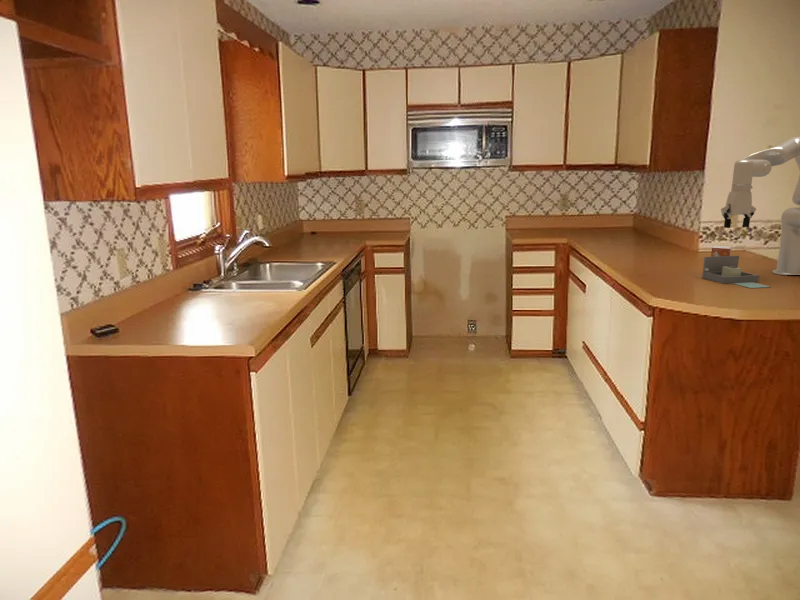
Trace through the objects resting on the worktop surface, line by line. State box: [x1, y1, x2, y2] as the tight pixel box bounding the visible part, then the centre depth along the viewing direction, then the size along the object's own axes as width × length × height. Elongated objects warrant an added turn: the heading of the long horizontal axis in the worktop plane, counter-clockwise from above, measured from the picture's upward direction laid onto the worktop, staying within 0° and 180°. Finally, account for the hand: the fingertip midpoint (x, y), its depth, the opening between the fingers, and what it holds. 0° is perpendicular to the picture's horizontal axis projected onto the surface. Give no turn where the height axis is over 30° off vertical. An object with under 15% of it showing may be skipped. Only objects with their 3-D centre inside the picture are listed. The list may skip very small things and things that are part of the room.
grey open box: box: [701, 254, 760, 285], centre depth 273 cm, size 18×15×10 cm
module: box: [721, 266, 743, 277], centre depth 273 cm, size 5×6×6 cm
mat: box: [732, 282, 771, 289], centre depth 262 cm, size 10×10×1 cm
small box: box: [710, 245, 732, 257], centre depth 288 cm, size 8×6×13 cm
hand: (736, 227), depth 268 cm, fingers open, 9 cm apart
